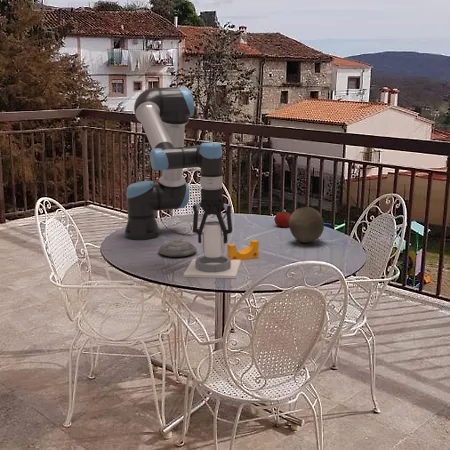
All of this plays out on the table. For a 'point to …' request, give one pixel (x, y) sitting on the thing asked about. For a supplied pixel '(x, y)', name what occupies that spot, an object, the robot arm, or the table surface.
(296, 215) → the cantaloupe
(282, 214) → the tomato
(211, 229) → the can
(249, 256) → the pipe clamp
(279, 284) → the table surface
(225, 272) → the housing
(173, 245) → the grey stepped dome
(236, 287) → the table surface
